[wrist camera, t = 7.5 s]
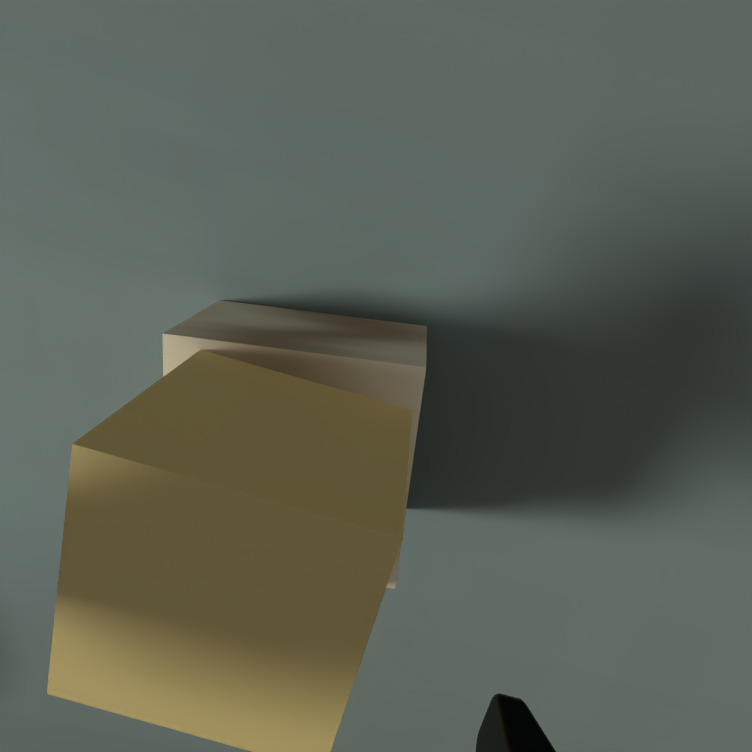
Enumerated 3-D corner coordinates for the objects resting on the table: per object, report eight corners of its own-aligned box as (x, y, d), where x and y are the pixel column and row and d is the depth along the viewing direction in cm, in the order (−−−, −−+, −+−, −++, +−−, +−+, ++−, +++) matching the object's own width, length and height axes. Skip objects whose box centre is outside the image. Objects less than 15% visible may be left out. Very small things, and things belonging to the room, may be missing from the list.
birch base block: (426, 324, 17) (426, 367, 13) (401, 505, 19) (394, 588, 15) (222, 299, 17) (162, 333, 13) (218, 480, 19) (166, 555, 15)
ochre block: (412, 410, 13) (402, 538, 8) (356, 583, 15) (323, 771, 10) (200, 349, 13) (72, 443, 8) (168, 530, 15) (47, 693, 10)
